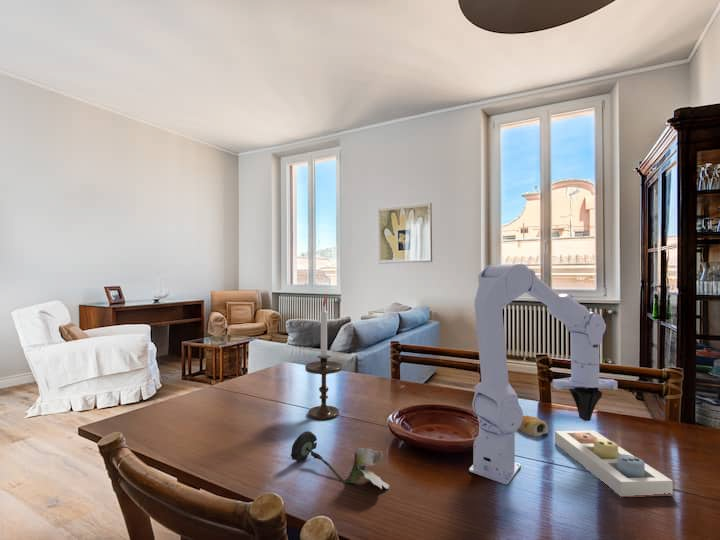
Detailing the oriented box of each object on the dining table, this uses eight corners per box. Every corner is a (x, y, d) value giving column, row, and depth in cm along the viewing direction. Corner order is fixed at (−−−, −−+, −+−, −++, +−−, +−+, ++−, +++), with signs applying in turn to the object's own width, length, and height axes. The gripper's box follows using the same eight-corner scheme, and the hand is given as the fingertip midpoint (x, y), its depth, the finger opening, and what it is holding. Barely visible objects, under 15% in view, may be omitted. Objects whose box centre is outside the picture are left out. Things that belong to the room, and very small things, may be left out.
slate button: (650, 481, 71) (650, 464, 71) (628, 481, 71) (628, 464, 71) (632, 468, 76) (632, 453, 76) (611, 469, 76) (611, 453, 76)
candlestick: (344, 408, 114) (344, 295, 114) (338, 422, 104) (339, 297, 104) (310, 406, 115) (310, 294, 116) (301, 420, 105) (301, 297, 105)
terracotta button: (600, 454, 85) (600, 440, 85) (581, 454, 85) (581, 440, 85) (587, 445, 90) (587, 431, 90) (570, 445, 90) (570, 432, 90)
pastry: (504, 425, 103) (504, 411, 103) (522, 421, 105) (522, 407, 105) (533, 438, 94) (533, 423, 94) (551, 434, 97) (551, 419, 97)
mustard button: (623, 462, 78) (623, 447, 78) (602, 462, 78) (602, 447, 78) (608, 452, 83) (608, 437, 83) (589, 452, 83) (589, 438, 83)
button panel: (672, 496, 70) (672, 480, 70) (621, 497, 69) (621, 481, 69) (594, 442, 92) (594, 430, 92) (554, 443, 91) (554, 431, 91)
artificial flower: (314, 456, 87) (326, 414, 89) (390, 508, 72) (403, 456, 74) (286, 461, 81) (299, 415, 82) (363, 518, 66) (377, 461, 67)
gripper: (603, 357, 92) (602, 412, 92) (545, 357, 91) (545, 412, 91) (624, 364, 85) (624, 424, 85) (562, 365, 84) (562, 424, 84)
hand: (584, 419), depth 87 cm, fingers closed
